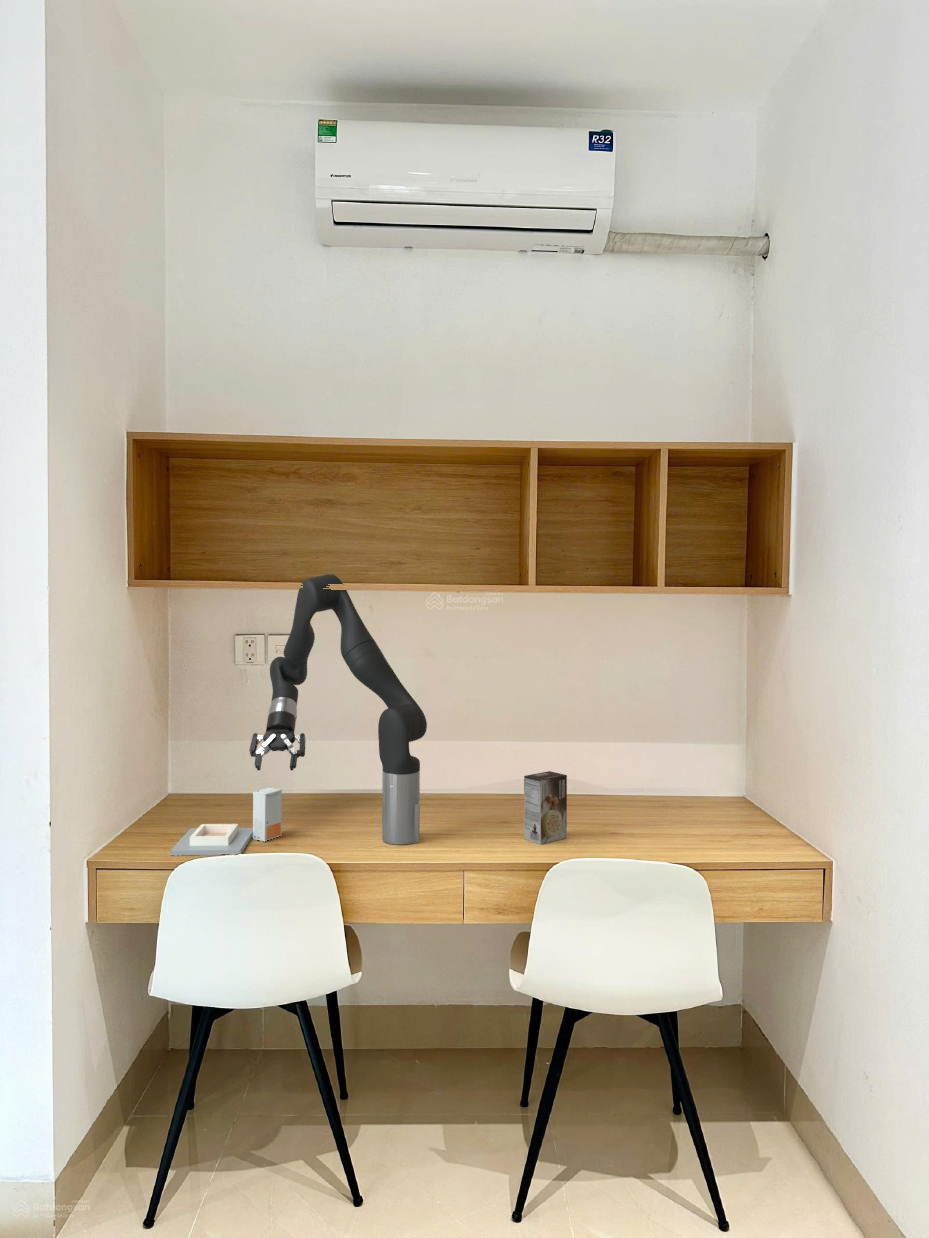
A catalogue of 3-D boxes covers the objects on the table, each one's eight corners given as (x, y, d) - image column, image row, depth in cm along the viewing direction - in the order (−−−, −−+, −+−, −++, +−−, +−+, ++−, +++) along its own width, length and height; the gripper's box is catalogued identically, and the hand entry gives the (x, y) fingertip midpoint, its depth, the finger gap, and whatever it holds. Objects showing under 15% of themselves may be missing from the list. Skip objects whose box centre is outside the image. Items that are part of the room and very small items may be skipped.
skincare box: (265, 842, 207) (264, 794, 206) (252, 839, 209) (252, 791, 208) (282, 836, 212) (282, 789, 211) (270, 833, 214) (269, 786, 214)
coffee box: (549, 832, 217) (550, 770, 217) (567, 838, 212) (568, 774, 212) (522, 838, 212) (523, 775, 211) (540, 845, 207) (541, 779, 206)
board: (255, 832, 215) (255, 819, 215) (240, 855, 197) (240, 841, 197) (190, 832, 214) (190, 820, 214) (170, 855, 196) (170, 842, 196)
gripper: (253, 709, 228) (245, 760, 217) (307, 709, 229) (301, 760, 218) (257, 725, 234) (249, 776, 223) (309, 725, 235) (304, 776, 224)
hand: (275, 768), depth 220 cm, fingers open, 8 cm apart
